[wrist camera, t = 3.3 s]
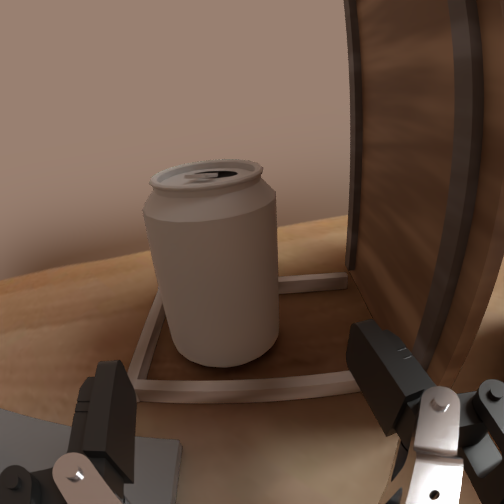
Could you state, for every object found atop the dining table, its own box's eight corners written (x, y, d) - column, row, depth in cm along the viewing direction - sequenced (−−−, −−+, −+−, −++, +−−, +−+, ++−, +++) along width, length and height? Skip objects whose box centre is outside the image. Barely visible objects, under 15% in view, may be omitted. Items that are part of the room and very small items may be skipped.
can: (288, 312, 25) (285, 153, 19) (265, 385, 18) (254, 186, 13) (198, 301, 27) (176, 156, 21) (157, 363, 20) (109, 189, 15)
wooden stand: (114, 440, 15) (3, -88, 3) (169, 276, 31) (135, -3, 19) (433, 418, 14) (481, -107, 3) (355, 264, 30) (354, -14, 19)
